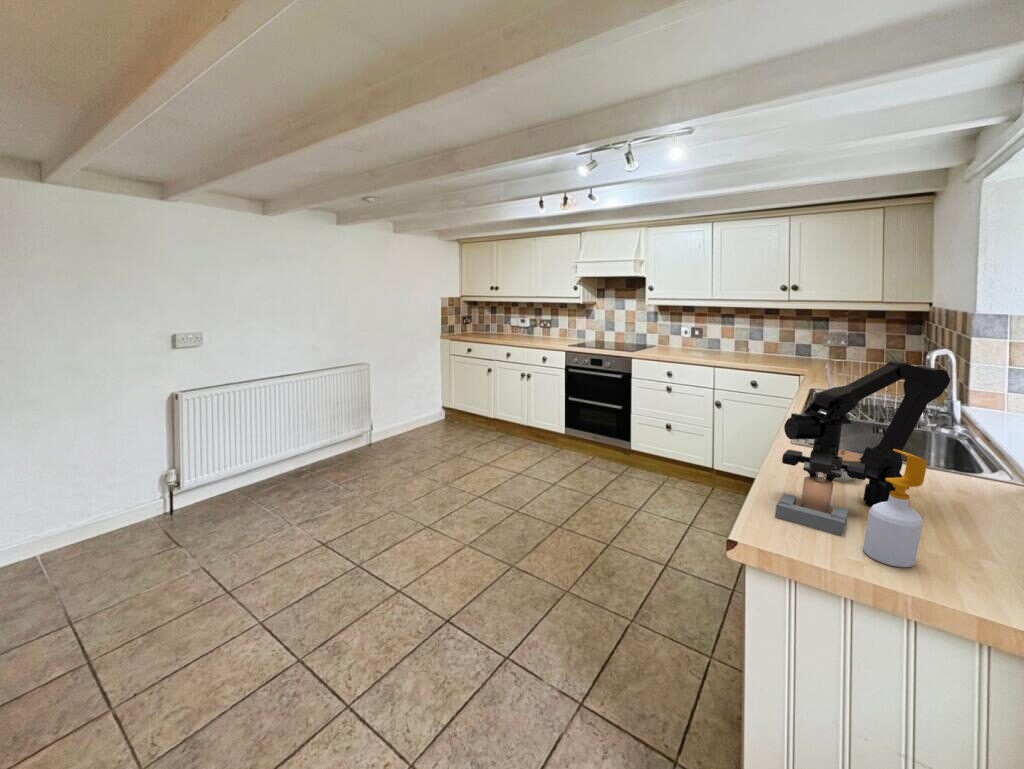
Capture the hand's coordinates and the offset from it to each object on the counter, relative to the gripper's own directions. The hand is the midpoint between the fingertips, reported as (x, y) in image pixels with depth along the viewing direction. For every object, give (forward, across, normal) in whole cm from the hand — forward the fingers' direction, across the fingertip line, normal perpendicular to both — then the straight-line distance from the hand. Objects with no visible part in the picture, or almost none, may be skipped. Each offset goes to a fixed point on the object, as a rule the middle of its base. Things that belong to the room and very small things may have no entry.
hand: (819, 493), depth 127 cm
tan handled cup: (+3, 0, -5) cm, 6 cm away
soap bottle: (+4, +16, -19) cm, 25 cm away
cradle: (+3, 0, -11) cm, 11 cm away
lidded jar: (+4, +2, +27) cm, 27 cm away
